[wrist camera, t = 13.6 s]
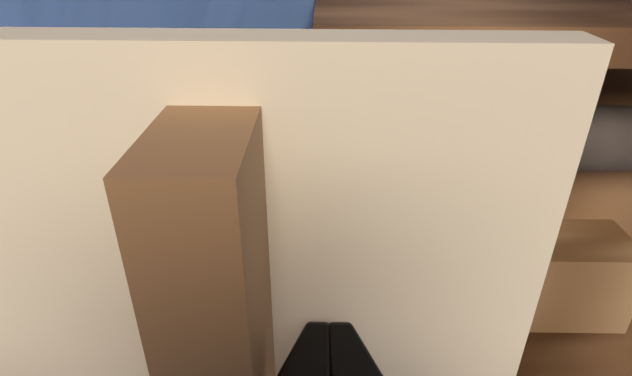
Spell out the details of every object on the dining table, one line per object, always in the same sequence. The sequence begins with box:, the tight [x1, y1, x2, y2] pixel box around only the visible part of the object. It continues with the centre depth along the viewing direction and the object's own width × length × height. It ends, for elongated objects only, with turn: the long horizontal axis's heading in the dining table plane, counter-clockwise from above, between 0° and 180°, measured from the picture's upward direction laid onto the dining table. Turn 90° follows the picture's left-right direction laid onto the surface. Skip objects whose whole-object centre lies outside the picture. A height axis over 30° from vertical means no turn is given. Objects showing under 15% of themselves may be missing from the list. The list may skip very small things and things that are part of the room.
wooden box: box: [312, 0, 632, 376], centre depth 12 cm, size 12×10×4 cm
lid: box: [0, 27, 615, 376], centre depth 9 cm, size 12×10×4 cm
